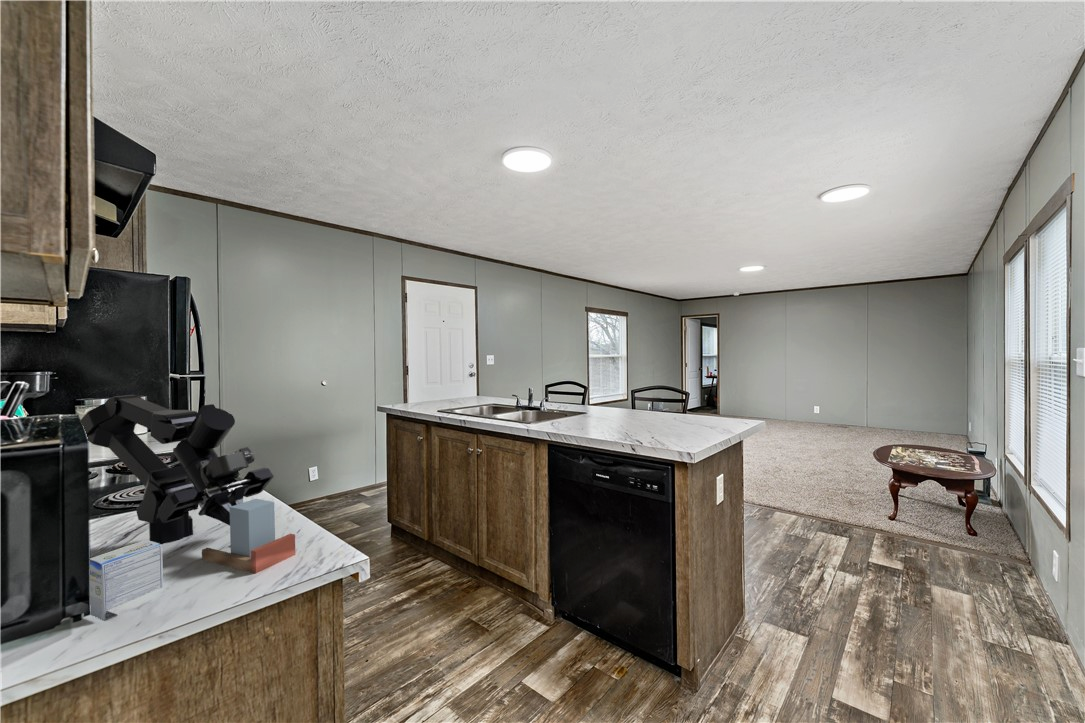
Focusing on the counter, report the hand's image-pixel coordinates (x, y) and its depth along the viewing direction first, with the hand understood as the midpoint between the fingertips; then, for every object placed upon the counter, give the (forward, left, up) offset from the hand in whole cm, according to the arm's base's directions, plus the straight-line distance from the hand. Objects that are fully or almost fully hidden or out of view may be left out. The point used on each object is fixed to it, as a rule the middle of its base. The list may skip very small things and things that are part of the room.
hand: (242, 528), depth 87 cm
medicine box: (-16, -4, -7) cm, 18 cm away
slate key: (+1, -3, -5) cm, 6 cm away
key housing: (+1, -1, -7) cm, 7 cm away
